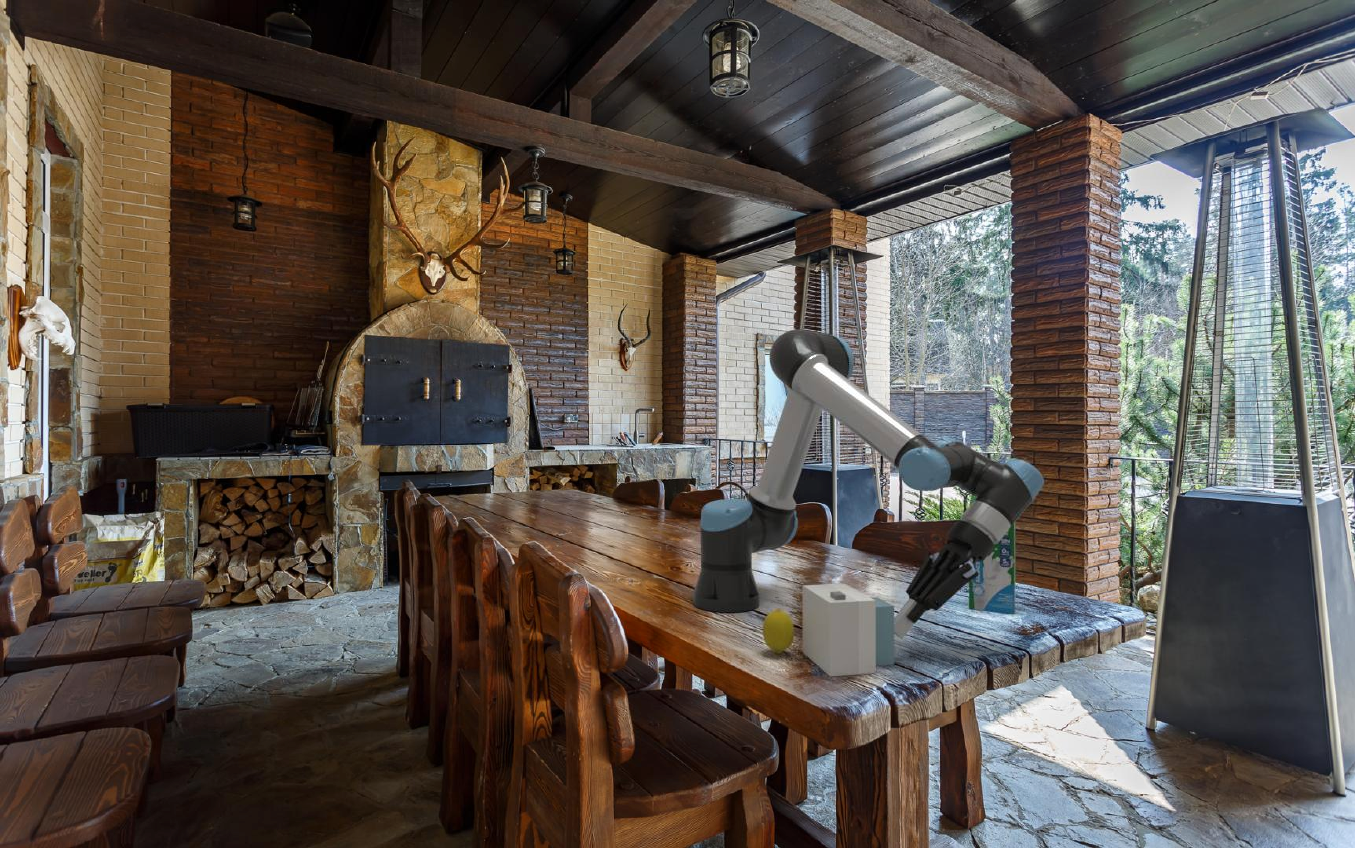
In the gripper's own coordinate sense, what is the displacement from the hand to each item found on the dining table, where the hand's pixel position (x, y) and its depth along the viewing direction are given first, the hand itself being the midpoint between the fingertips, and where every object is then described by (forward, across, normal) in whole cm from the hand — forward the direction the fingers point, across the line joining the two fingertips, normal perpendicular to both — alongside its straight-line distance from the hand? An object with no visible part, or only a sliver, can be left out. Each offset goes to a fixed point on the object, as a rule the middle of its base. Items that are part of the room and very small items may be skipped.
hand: (894, 632), depth 118 cm
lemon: (+17, +6, +11) cm, 21 cm away
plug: (+7, 0, +1) cm, 7 cm away
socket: (+10, 0, +4) cm, 11 cm away
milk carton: (-23, +26, -31) cm, 47 cm away
